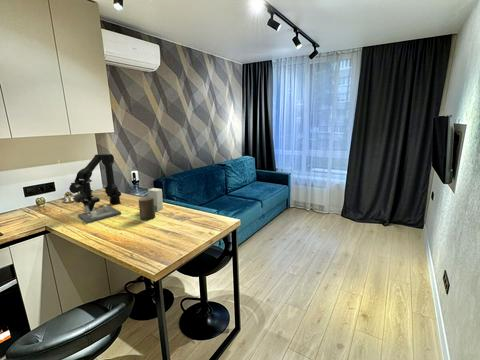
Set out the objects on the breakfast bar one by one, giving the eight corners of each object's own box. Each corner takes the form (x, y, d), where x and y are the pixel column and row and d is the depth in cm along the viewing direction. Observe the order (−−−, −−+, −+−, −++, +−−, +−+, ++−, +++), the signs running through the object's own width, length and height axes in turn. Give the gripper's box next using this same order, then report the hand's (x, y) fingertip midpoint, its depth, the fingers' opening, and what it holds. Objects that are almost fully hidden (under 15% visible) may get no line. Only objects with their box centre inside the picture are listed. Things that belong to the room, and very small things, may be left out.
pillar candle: (155, 219, 173) (153, 197, 170) (139, 221, 170) (137, 199, 167) (155, 214, 182) (153, 193, 179) (140, 216, 179) (138, 195, 176)
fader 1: (95, 215, 175) (94, 210, 174) (97, 216, 173) (96, 211, 172) (91, 216, 173) (90, 211, 172) (93, 217, 171) (92, 212, 170)
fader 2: (106, 209, 187) (106, 204, 186) (108, 210, 185) (107, 205, 184) (103, 210, 185) (102, 205, 184) (105, 211, 183) (104, 206, 182)
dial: (93, 210, 185) (92, 203, 184) (95, 211, 183) (93, 203, 182) (84, 212, 181) (83, 205, 179) (85, 213, 179) (84, 206, 177)
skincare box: (148, 210, 190) (146, 189, 186) (154, 207, 196) (152, 187, 192) (158, 211, 187) (156, 191, 183) (163, 208, 193) (162, 188, 189)
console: (110, 208, 195) (110, 206, 194) (121, 214, 183) (120, 211, 182) (77, 217, 179) (77, 214, 179) (86, 223, 167) (86, 220, 167)
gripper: (66, 190, 175) (69, 212, 179) (82, 194, 167) (86, 216, 170) (82, 186, 185) (85, 207, 189) (98, 189, 176) (102, 211, 180)
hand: (89, 210), depth 182 cm, fingers closed on dial, 3 cm apart
